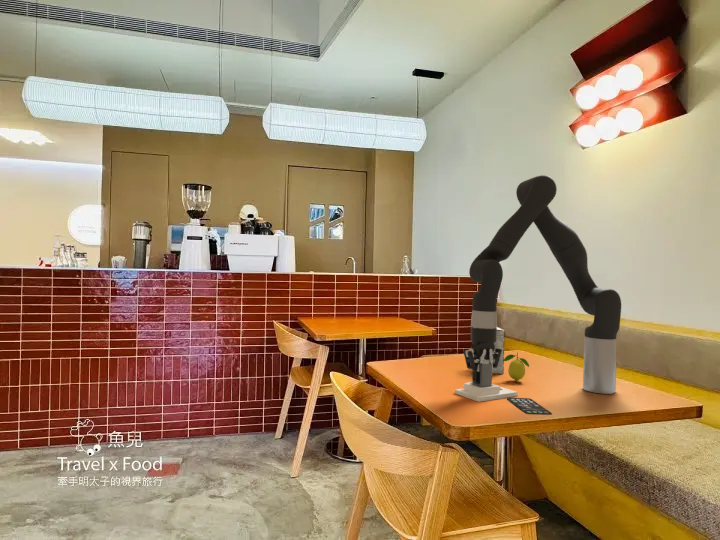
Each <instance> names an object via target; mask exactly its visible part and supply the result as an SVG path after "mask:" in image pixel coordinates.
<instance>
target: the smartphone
mask: <svg viewBox="0 0 720 540" xmlns="http://www.w3.org/2000/svg"><path fill="white" fill-rule="evenodd" d="M506 401H508V402H509V403H510V404H512V405H513V406H514V407H516V408H517V409H519V410H520V411H521V412H523V413H524V414H526V415H546V416H548V415H553V412H551V411H550V410H548V409H547V408H545V407H544V406H542V405H541V404H539V403H538V402H536V401H535V400H534V399H532V398H530V397H529V398H528V397H508V398H506Z"/></svg>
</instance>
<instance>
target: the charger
mask: <svg viewBox="0 0 720 540" xmlns="http://www.w3.org/2000/svg"><path fill="white" fill-rule="evenodd" d="M476 360H477V361H479V360H478V359H476ZM476 367H477V363H476ZM479 372H480V384H475V383H473V380H471V382H472V385H475V386H478V387H481V388H483V387H491V386H492V384H493V383H492V381H493V374H492V364H491V363H489V361H488V360H484V361H483V364H481V369H480V371H479ZM471 376H472V377H473V373H472V375H471Z"/></svg>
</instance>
